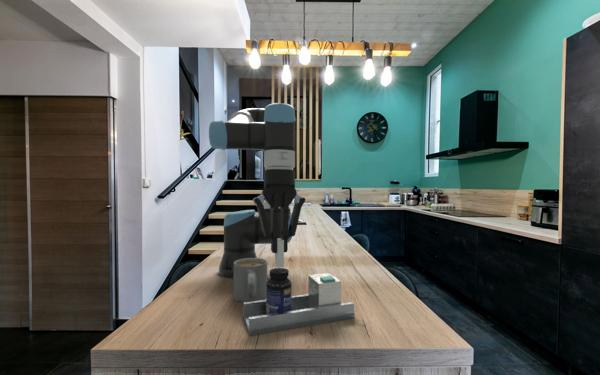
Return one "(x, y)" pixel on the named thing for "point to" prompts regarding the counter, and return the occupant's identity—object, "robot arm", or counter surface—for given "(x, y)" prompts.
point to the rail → (301, 308)
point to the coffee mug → (250, 279)
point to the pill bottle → (278, 291)
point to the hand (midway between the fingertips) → (279, 265)
